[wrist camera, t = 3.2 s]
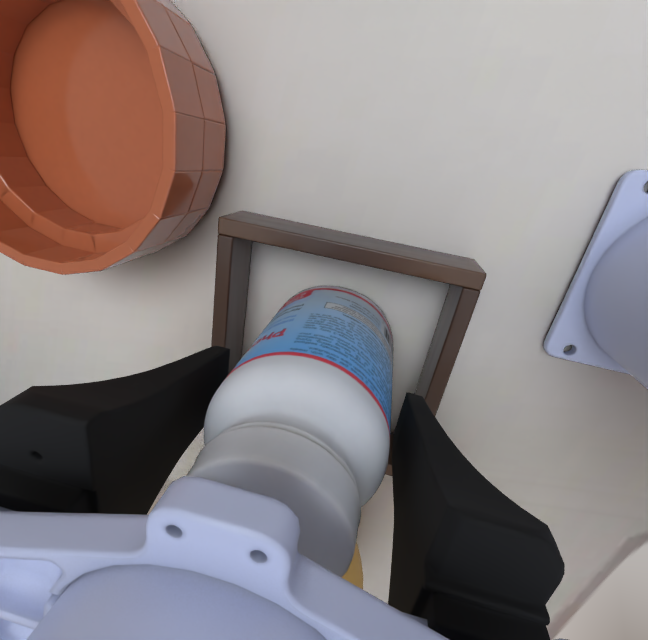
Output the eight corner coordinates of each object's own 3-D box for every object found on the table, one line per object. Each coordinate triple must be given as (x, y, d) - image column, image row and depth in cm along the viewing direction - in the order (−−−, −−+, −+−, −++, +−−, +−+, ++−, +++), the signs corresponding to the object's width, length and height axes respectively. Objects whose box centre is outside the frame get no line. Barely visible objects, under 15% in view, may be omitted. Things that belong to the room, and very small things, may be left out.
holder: (475, 259, 17) (487, 274, 14) (410, 447, 21) (411, 482, 19) (241, 210, 18) (218, 216, 15) (225, 399, 22) (206, 426, 20)
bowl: (240, -16, 14) (178, -89, 10) (221, 272, 19) (174, 301, 15) (-26, -56, 16) (-178, -135, 11) (17, 225, 20) (-79, 241, 16)
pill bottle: (291, 265, 18) (154, 393, 8) (411, 305, 18) (429, 491, 8) (265, 368, 21) (135, 565, 10) (370, 404, 20) (343, 645, 10)
